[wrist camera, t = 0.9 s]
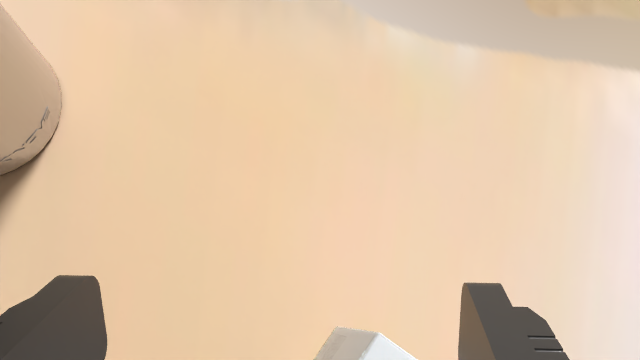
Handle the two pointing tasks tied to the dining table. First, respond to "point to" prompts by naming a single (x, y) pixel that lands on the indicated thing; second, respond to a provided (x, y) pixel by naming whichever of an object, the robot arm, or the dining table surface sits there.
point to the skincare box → (360, 346)
